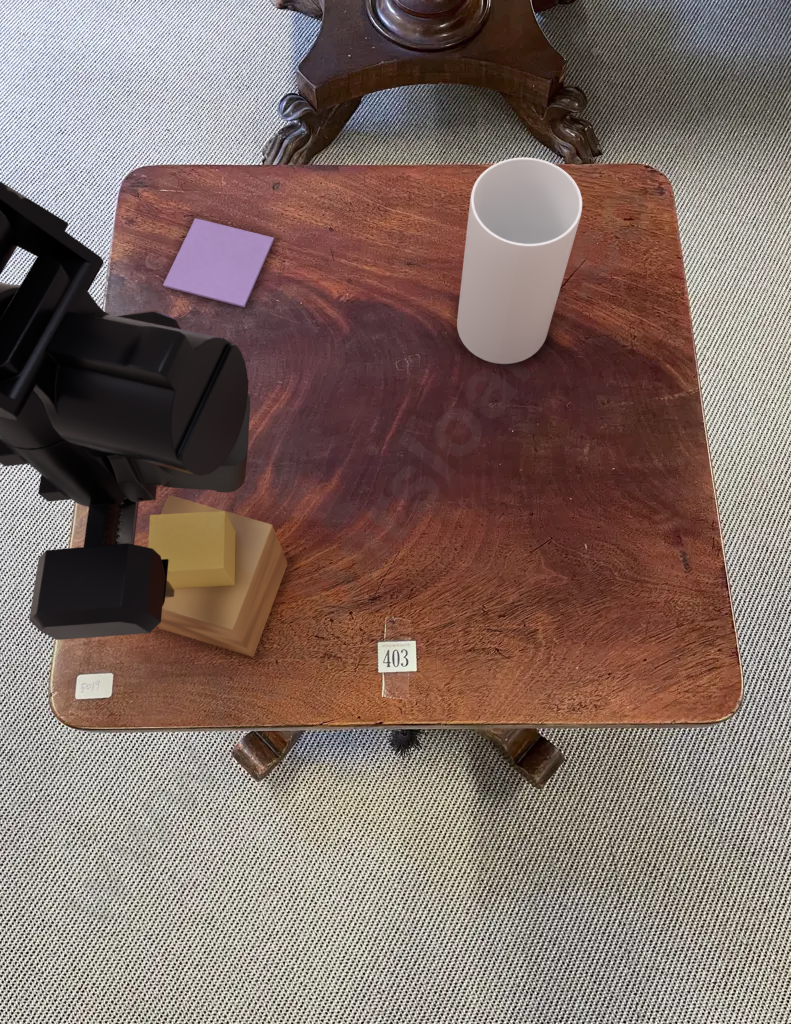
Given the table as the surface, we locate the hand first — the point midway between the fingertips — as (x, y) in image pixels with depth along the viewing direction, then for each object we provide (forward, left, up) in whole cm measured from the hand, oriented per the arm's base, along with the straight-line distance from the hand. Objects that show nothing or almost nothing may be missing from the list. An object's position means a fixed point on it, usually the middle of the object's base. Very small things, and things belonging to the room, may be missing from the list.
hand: (172, 525), depth 54 cm
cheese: (0, 0, -6) cm, 6 cm away
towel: (-12, +30, -15) cm, 35 cm away
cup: (+15, +31, -15) cm, 38 cm away
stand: (0, 0, -15) cm, 15 cm away
